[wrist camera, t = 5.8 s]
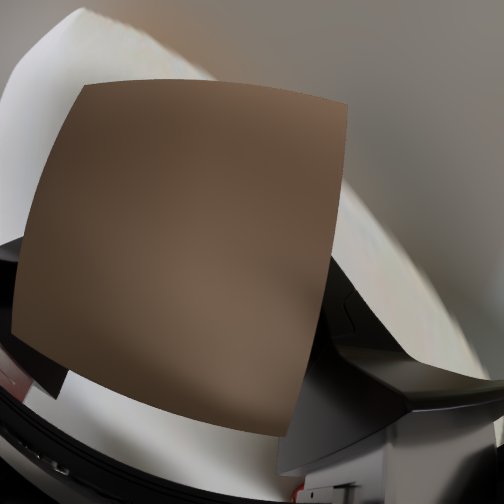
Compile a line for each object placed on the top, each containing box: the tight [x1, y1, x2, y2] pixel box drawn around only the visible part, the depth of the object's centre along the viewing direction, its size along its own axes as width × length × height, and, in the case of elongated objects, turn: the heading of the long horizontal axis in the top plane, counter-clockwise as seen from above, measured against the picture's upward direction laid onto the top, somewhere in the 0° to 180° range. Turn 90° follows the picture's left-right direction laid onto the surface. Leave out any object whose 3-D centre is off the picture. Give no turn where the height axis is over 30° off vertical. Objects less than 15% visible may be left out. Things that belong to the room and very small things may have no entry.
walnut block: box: [11, 79, 348, 437], centre depth 10 cm, size 6×6×12 cm
